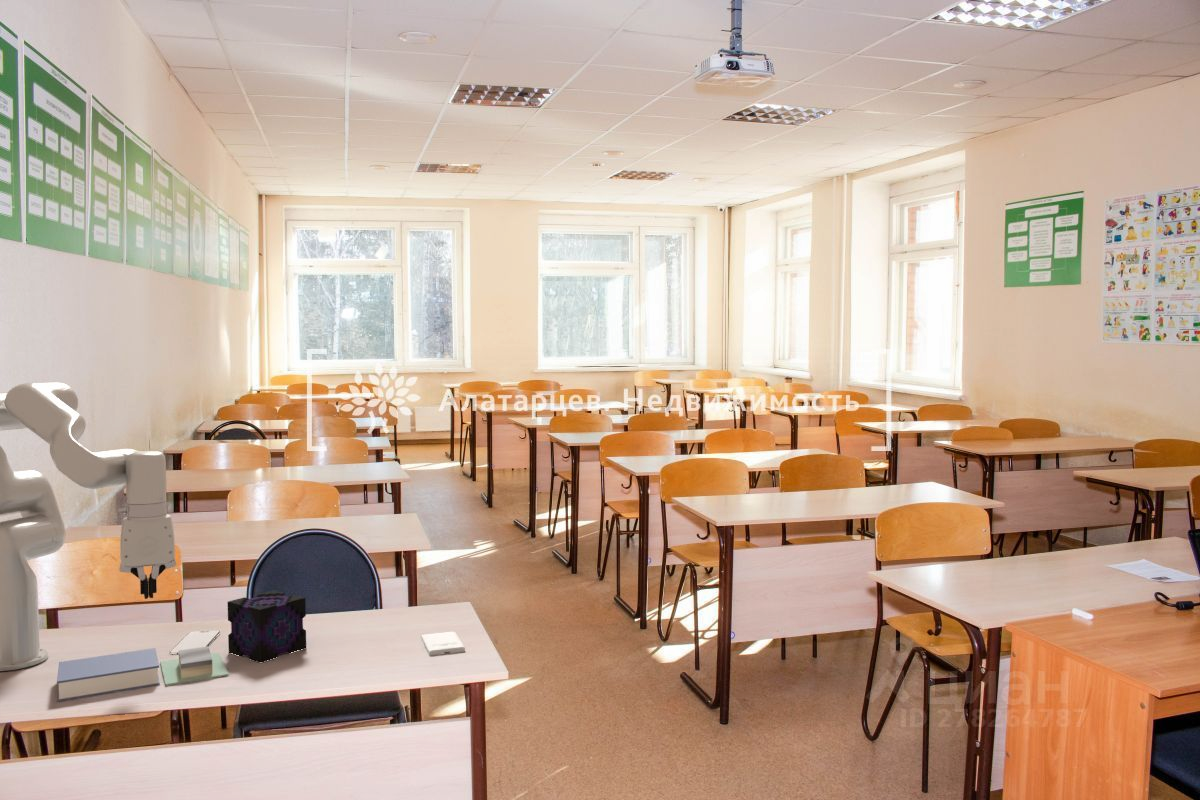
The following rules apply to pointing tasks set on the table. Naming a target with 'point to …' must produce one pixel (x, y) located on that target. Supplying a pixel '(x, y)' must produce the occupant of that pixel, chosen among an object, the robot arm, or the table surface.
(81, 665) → the textbook
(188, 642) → the smartphone
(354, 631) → the table surface
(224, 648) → the table surface
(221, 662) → the mat
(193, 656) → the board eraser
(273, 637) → the energy cube
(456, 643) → the external hard drive
